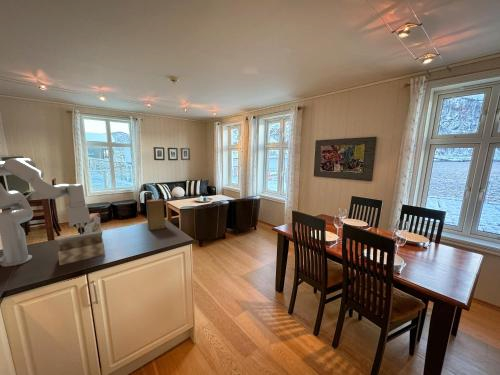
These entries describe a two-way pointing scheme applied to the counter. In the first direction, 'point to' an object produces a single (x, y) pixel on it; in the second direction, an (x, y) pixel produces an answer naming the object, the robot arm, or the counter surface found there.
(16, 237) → the robot arm
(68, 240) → the lid
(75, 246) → the storage box
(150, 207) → the food packaging
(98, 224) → the cracker box
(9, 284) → the counter surface
